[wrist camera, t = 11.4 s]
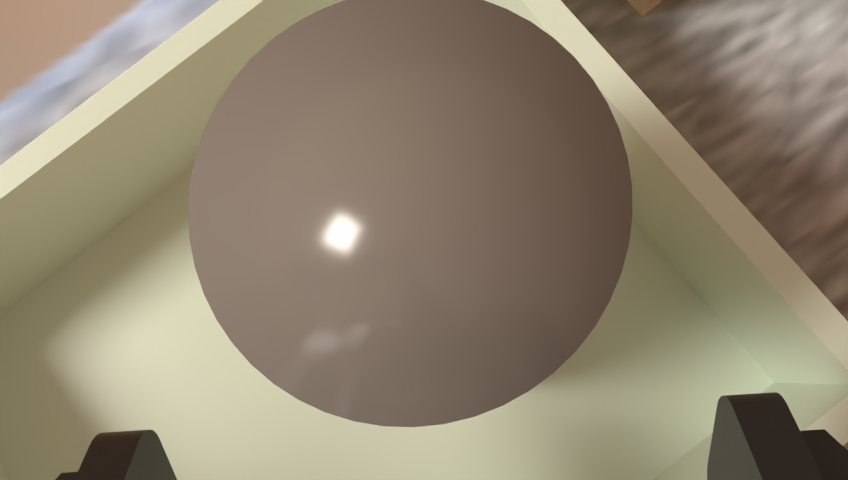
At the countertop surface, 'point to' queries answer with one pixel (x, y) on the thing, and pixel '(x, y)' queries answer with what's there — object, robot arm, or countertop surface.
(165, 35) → the countertop surface
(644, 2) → the maple block
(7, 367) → the tote
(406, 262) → the spice jar
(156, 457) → the robot arm
